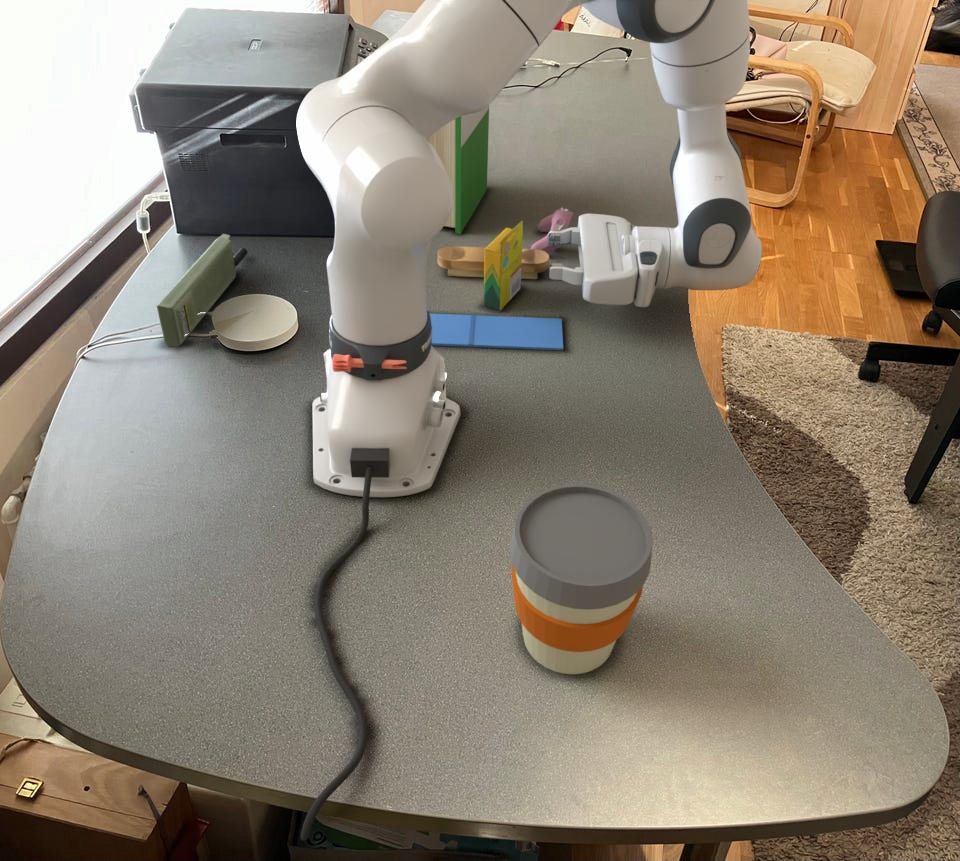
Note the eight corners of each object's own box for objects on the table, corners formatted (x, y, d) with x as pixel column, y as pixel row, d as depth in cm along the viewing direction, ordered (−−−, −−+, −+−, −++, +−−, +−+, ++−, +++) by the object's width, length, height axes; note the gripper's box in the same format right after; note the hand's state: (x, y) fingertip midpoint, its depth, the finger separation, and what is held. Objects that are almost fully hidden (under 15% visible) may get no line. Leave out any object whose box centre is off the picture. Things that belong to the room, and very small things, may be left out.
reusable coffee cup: (479, 621, 86) (482, 517, 77) (576, 566, 92) (591, 463, 82) (558, 715, 79) (573, 613, 69) (659, 649, 84) (686, 546, 75)
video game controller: (551, 268, 142) (573, 235, 137) (527, 254, 141) (549, 221, 136) (559, 239, 149) (581, 207, 144) (536, 225, 148) (557, 193, 144)
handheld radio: (160, 344, 121) (234, 256, 139) (182, 348, 121) (254, 259, 139) (151, 304, 117) (229, 218, 135) (174, 308, 116) (249, 221, 135)
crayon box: (504, 283, 135) (507, 214, 127) (521, 288, 134) (525, 219, 126) (482, 306, 130) (483, 236, 122) (499, 311, 129) (502, 241, 121)
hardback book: (460, 234, 147) (461, 90, 131) (418, 227, 148) (414, 84, 132) (486, 189, 160) (490, 53, 144) (448, 184, 161) (447, 49, 145)
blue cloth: (563, 350, 122) (563, 347, 121) (420, 345, 122) (420, 342, 122) (561, 320, 127) (561, 318, 127) (425, 315, 128) (425, 312, 127)
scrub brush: (547, 266, 139) (549, 249, 137) (548, 281, 136) (549, 264, 134) (438, 262, 139) (438, 245, 137) (436, 276, 136) (436, 259, 134)
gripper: (639, 204, 132) (548, 201, 132) (654, 274, 117) (551, 271, 117) (634, 241, 136) (546, 238, 137) (648, 314, 121) (548, 310, 121)
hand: (548, 254), depth 127 cm, fingers open, 8 cm apart
